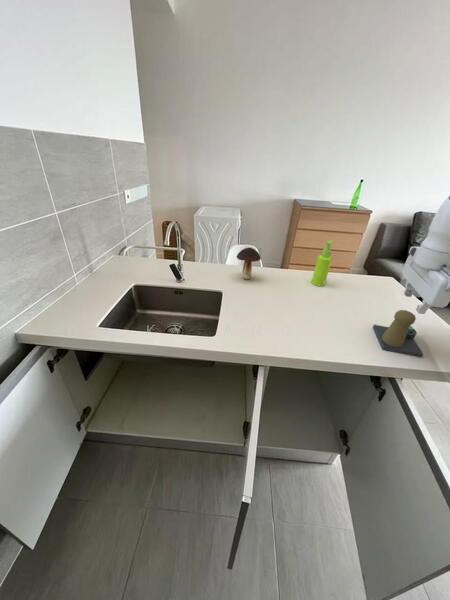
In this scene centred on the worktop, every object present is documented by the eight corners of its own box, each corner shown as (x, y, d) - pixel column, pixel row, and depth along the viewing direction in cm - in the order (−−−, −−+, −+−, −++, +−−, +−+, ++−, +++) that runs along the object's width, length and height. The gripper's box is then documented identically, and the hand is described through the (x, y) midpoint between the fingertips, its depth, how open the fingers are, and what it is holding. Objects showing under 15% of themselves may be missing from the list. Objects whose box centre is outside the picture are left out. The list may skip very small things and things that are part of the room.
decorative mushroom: (230, 278, 113) (232, 247, 105) (243, 271, 121) (246, 242, 113) (250, 286, 108) (254, 254, 100) (262, 278, 115) (266, 247, 108)
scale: (408, 332, 85) (412, 325, 83) (424, 358, 74) (429, 351, 72) (371, 326, 87) (374, 319, 85) (382, 350, 76) (385, 342, 74)
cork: (384, 345, 76) (399, 316, 70) (379, 333, 81) (392, 305, 75) (406, 349, 75) (423, 320, 69) (399, 336, 80) (414, 309, 74)
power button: (409, 328, 82) (411, 324, 81) (412, 333, 80) (414, 330, 79) (399, 326, 83) (401, 322, 82) (402, 331, 80) (404, 328, 79)
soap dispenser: (326, 282, 115) (338, 240, 105) (323, 287, 110) (335, 245, 100) (313, 278, 118) (324, 238, 107) (310, 284, 113) (321, 242, 102)
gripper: (474, 277, 54) (443, 326, 61) (432, 247, 71) (411, 289, 78) (442, 273, 55) (415, 322, 63) (408, 245, 72) (390, 286, 79)
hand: (413, 303), depth 71 cm, fingers open, 8 cm apart
